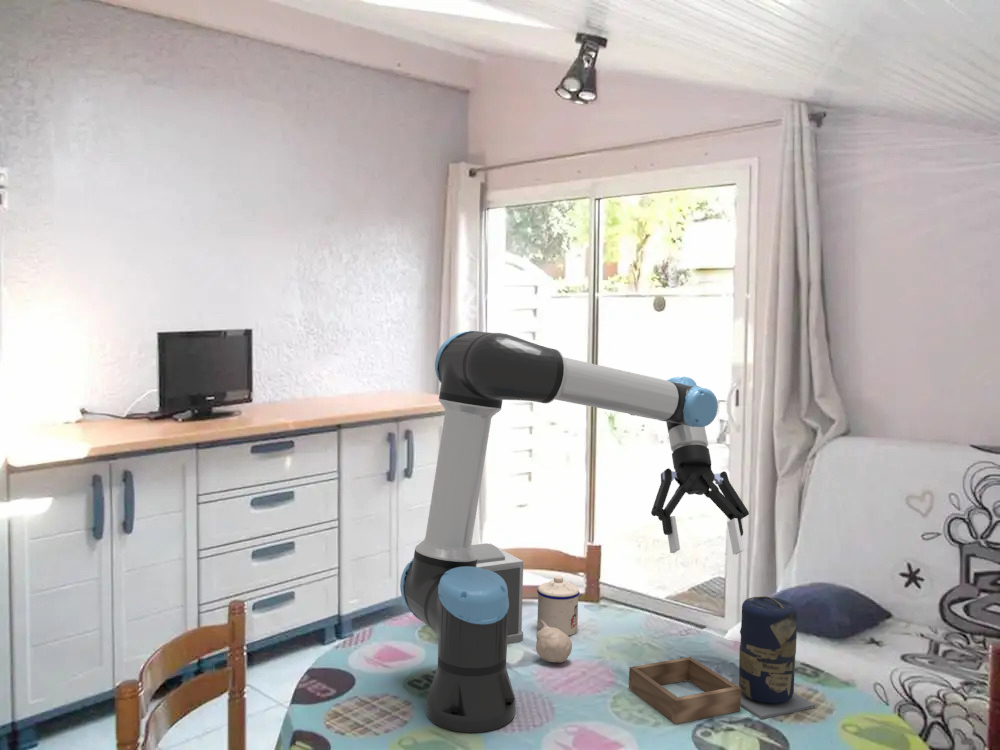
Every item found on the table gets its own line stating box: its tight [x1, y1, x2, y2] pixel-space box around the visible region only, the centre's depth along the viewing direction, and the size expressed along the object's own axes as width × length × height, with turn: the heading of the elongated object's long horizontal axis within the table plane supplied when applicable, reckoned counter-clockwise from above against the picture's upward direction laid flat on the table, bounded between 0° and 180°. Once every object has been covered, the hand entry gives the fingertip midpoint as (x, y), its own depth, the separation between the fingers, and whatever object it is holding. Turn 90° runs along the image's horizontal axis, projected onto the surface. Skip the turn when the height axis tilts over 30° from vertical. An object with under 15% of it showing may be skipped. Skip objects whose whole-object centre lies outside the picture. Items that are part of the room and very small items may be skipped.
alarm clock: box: [471, 542, 524, 645], centre depth 180 cm, size 18×13×18 cm
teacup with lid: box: [536, 575, 581, 637], centre depth 184 cm, size 12×9×12 cm
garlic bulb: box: [535, 620, 573, 664], centre depth 166 cm, size 7×6×8 cm
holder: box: [628, 656, 741, 725], centre depth 150 cm, size 14×14×4 cm
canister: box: [738, 595, 798, 703], centre depth 151 cm, size 10×10×18 cm
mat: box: [734, 682, 816, 720], centre depth 152 cm, size 12×12×1 cm
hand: (707, 552), depth 164 cm, fingers open, 13 cm apart
